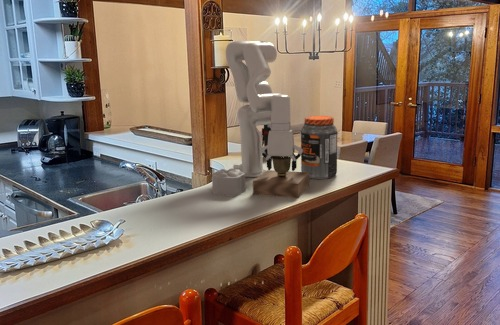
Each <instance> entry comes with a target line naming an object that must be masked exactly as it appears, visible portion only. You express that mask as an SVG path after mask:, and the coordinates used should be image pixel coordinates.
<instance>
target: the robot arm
mask: <svg viewBox="0 0 500 325" xmlns="http://www.w3.org/2000/svg"><path fill="white" fill-rule="evenodd" d="M277 54H278V53H277V48H276V47H275V45H274V44H273V43H271V42H270V41H269V42H268V41H266V40H265V41H263V40H236V41H231V42H229V43H228V44H227V45H226V47H225V60H226V63H227V65H228V68H229V70H230V72H231V74H232V77H233V84H234V87H235V93H236V97H237V100H238V101H239V102H240V103H241V104H245V105H242V106H240V107H239V108H238V110H237V121H238V124H239V132H240V149H241V150H240V151H241V152H240V154H241V163H240V164H233V166H232V168H233V169H235V170H238V171H241V172H243V173H245V178H257V177H259V176H260V175H261V174H263V173H264V172H265V171H267V170H272V167H273V166H272V165H273V160H272V158H271V156H279V157H291V172H295V170H296V169H297V164H298V163H297V160H298V159H299V158H300V157H301V154H302V152H303V149H301V146H300V147H299V146H298V145H296V144H295V139H294V132H293V130H292V129H291V127H292V126H291V98H290V96H289V95H287V94H282V93H279V92H273V91H272V87H271V84H269V83H268V82H267V81H266V80H267V79H269V77H270V76H271V74H272V73H271V72H272V71H271V69H270V65H269V63H273V62H275V61H276V59H277ZM243 61H244V62H243ZM264 125H268V127H270V128H271V130H270V131H269V135H268V145H266V146H264V145H263V146H262V140H263V135H262V132H261V131H260V130H259V129H258V126H264ZM267 148H268V149H267ZM265 149H267V151H268V155H267V154H266V153H265V151H264V150H265ZM296 151H297V152H298V153H297V154H295V152H296ZM263 158H264V159H265V160H266V168H267V170H265V169H264V168H263V167H264V165H263V164H264V163H263Z"/></svg>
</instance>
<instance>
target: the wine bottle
mask: <svg viewBox="0 0 500 325" xmlns="http://www.w3.org/2000/svg"><path fill="white" fill-rule="evenodd" d="M270 130H271V128H270V127H268V125H263V128H261V136H262V147H264V146H266V145H268V135H269V131H270ZM267 149H268V148H267ZM267 149H265V150H264V151H265V153H266V154H267V155H268V151H267ZM272 157H273V158H274V156H271V159H272Z"/></svg>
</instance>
